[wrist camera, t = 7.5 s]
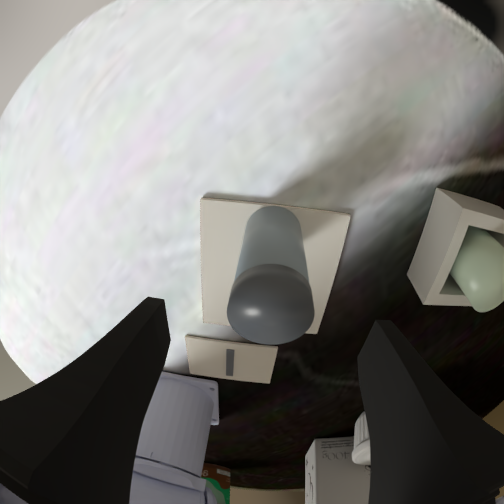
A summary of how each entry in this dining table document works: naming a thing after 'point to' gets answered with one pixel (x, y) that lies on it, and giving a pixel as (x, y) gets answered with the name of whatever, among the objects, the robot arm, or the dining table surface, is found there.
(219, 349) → the card
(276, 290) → the grey capped cylinder
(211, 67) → the dining table surface
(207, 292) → the paper
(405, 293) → the dining table surface
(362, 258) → the dining table surface
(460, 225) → the button collar
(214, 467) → the food container
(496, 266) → the plunger
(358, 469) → the cereal box
